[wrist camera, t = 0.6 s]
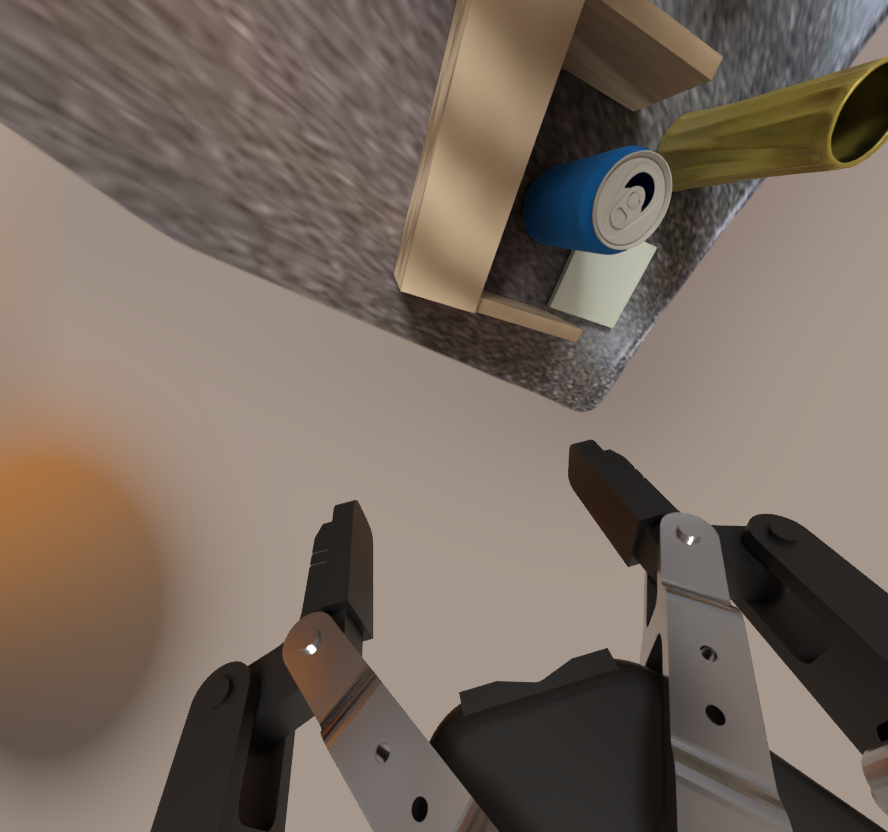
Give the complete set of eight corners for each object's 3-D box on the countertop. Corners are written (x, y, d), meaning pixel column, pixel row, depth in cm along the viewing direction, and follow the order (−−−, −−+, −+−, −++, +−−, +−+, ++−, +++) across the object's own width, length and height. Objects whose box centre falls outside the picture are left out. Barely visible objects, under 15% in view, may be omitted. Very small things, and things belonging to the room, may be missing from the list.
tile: (586, 217, 33) (590, 217, 32) (652, 247, 36) (657, 247, 35) (546, 305, 37) (550, 307, 36) (608, 326, 40) (612, 328, 39)
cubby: (461, -21, 24) (504, -135, 16) (641, 94, 29) (737, 50, 21) (393, 274, 33) (400, 291, 25) (540, 320, 38) (582, 345, 30)
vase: (641, 174, 32) (802, 147, 20) (683, 97, 30) (897, 13, 18) (682, 203, 34) (850, 194, 22) (725, 133, 32) (941, 81, 20)
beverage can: (594, 202, 33) (694, 195, 23) (547, 259, 35) (620, 276, 24) (554, 148, 30) (648, 112, 20) (506, 213, 32) (569, 211, 22)
